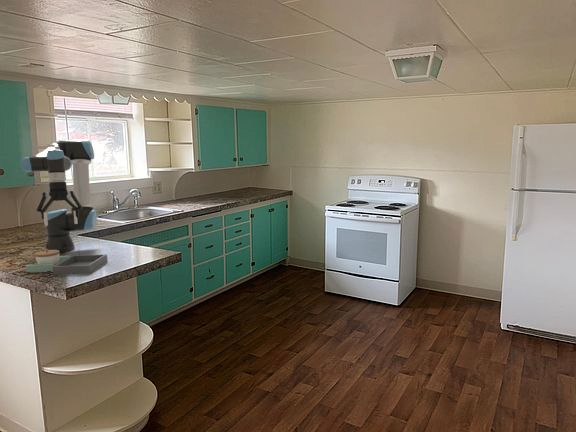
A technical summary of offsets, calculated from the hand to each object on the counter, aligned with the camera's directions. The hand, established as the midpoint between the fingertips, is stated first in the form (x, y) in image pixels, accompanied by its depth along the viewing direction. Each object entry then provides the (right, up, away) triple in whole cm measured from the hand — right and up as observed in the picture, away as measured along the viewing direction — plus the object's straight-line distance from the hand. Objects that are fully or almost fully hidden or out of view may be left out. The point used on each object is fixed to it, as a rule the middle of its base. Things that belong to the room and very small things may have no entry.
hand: (61, 224), depth 221 cm
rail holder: (-7, -21, +2) cm, 22 cm away
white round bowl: (-7, -21, +2) cm, 23 cm away
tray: (+11, -21, -2) cm, 24 cm away
